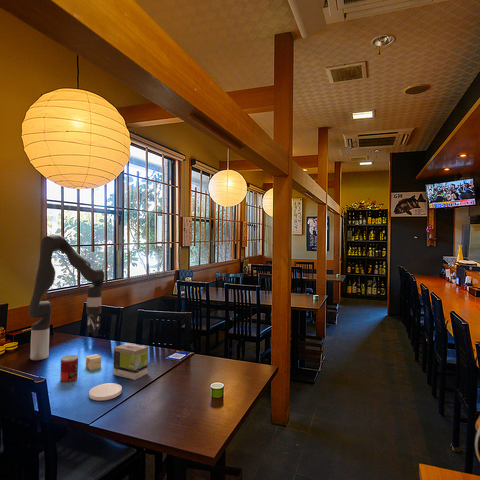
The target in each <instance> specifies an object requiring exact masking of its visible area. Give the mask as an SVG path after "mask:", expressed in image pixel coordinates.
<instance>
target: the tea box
mask: <svg viewBox="0 0 480 480" xmlns="http://www.w3.org/2000/svg"><path fill="white" fill-rule="evenodd" d="M148 354H149V346H146V345H141V344H135V343H131V342H125V343H123V344H121V345H118V346H114V349H113V375H114V376H118V377H122V378H127V379H131V380H133V381H136V380H137V379H140V378H142V377H144V376H145V375H148V361H149V360H148V357H149V355H148Z"/></svg>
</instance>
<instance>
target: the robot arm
mask: <svg viewBox="0 0 480 480" xmlns="http://www.w3.org/2000/svg"><path fill="white" fill-rule="evenodd" d="M39 249H40V251H39V259H38V260H39V262H38V265H37V266H38V269H37V271H36V276H35V277H36V278H35V280H34V281H35V283H34V287H33V292H32V296H31V300H30V303H29V305H28V316H29V317H30V318H31V319H38V318H40V319H39V320H38V321H36V322H34V323H32V324H31V326H30V327H31V330H30V331H31V332H30V333H31V334H30V355H29V359H30V360H32V361H40V360H45V359H47V358H49V351H50V349H49V348H50V324H51V321H52V320H51V319H52V318H51V317H52V303H51V302H50V301H49V300H42V298H43V296H44V295H45V294H46V293H47V292H48V291H49V289H50V288H51V287H52V286H53V284H54V283H55V282H54V281H55V278H56V269H55V267H54V265H53V262H52V261H53V260H52V259H53V254H54V252H56V251H60V252H62V253H63V254H65V256H66V257H67V260H68V263H69V264H70V265H71V266H72V267H73V268H75V270H77V271H79V273H80V274H81V276H82V278H84V280H86V281H88V282H89V283H91V285H90V286H88V288H87V292H86V293H87V294H86V295H87V298H86V308H85V309H86V314H87V317H86V324H87V326H88V327H87V328H88V331H87V332H88V333H90V334H91V333H93V337H98V336H99V329H101V316H99V314H101V313H102V288H103V286H104V285H103V284H104V281H105V272H104V270H103V269H102V268H92V265H91V263H90V261H88V260H87V259H85V258H84V256H82V255H81V254H79V252H77V250H76V249H75V248H74V247H73V246H72V245H71V244H70V243H69V242H68V241H67V239H65V237H64V236H63V235H60V234H52V235H51V234H50V235H46V236H44V237H42V239H41V242H40V248H39ZM41 300H42V301H41Z"/></svg>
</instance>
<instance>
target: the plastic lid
mask: <svg viewBox="0 0 480 480" xmlns="http://www.w3.org/2000/svg"><path fill="white" fill-rule="evenodd" d="M122 388H123V387H122V385H120V384H118V383H114V382H113V383H112V382H109V383H101V384H98V385H95V386H93V387H91V388H90V390H89V391H88V397H89V398H90V399H91V400H93V401H108V400H112V399H114V398H116V397H118V396H119V395H121V394H122V392H123V389H122Z"/></svg>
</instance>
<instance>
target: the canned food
mask: <svg viewBox="0 0 480 480" xmlns="http://www.w3.org/2000/svg"><path fill="white" fill-rule="evenodd" d="M78 369H79V356H78V355H76V354H75V355H74V354H70V355H69V354H68V355H64V356H62V357H61V358H60V373H59V374H60V377H59V378H60V382H61V383H71V382H74V381H76V380H77V379H78V371H79V370H78Z"/></svg>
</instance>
